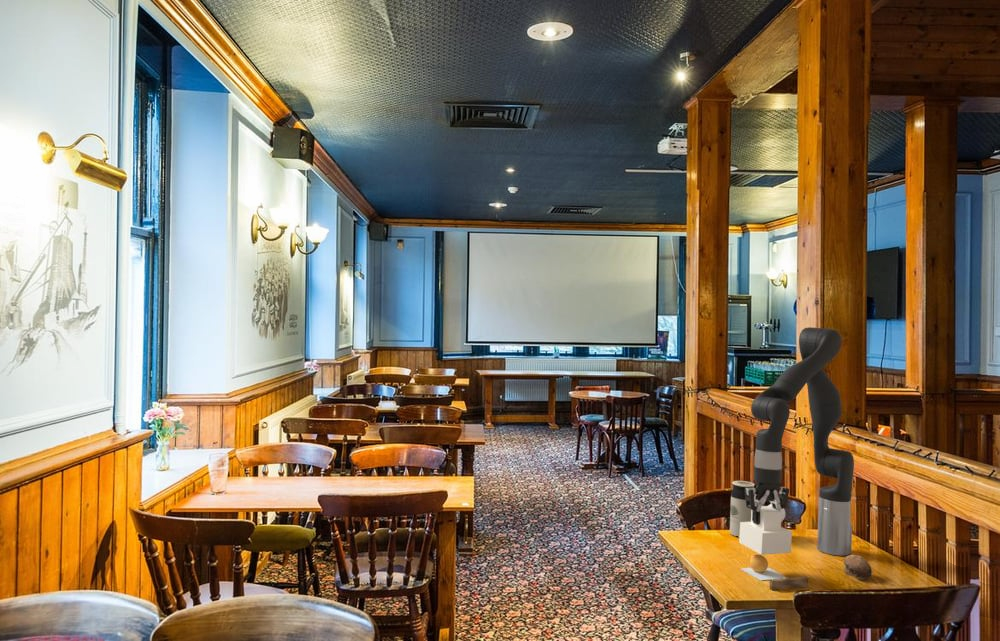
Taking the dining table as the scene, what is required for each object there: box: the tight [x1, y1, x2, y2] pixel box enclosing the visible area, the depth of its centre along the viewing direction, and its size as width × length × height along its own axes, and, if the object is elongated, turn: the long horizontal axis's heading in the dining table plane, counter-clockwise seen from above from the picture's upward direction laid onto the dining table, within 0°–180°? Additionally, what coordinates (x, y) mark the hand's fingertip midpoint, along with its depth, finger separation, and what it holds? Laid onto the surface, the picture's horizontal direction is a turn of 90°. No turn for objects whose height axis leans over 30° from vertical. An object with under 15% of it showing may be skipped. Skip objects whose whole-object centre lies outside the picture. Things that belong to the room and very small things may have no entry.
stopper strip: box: [769, 576, 810, 591], centre depth 182 cm, size 12×1×2 cm, turn 106°
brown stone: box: [843, 554, 873, 581], centre depth 193 cm, size 8×8×6 cm
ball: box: [749, 554, 769, 573], centre depth 193 cm, size 5×5×5 cm
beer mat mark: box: [740, 567, 788, 582], centre depth 192 cm, size 9×9×1 cm
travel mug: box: [729, 480, 756, 538], centre depth 228 cm, size 8×8×18 cm
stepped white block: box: [738, 505, 793, 556], centre depth 192 cm, size 10×10×11 cm
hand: (765, 523), depth 192 cm, fingers closed on stepped white block, 5 cm apart
